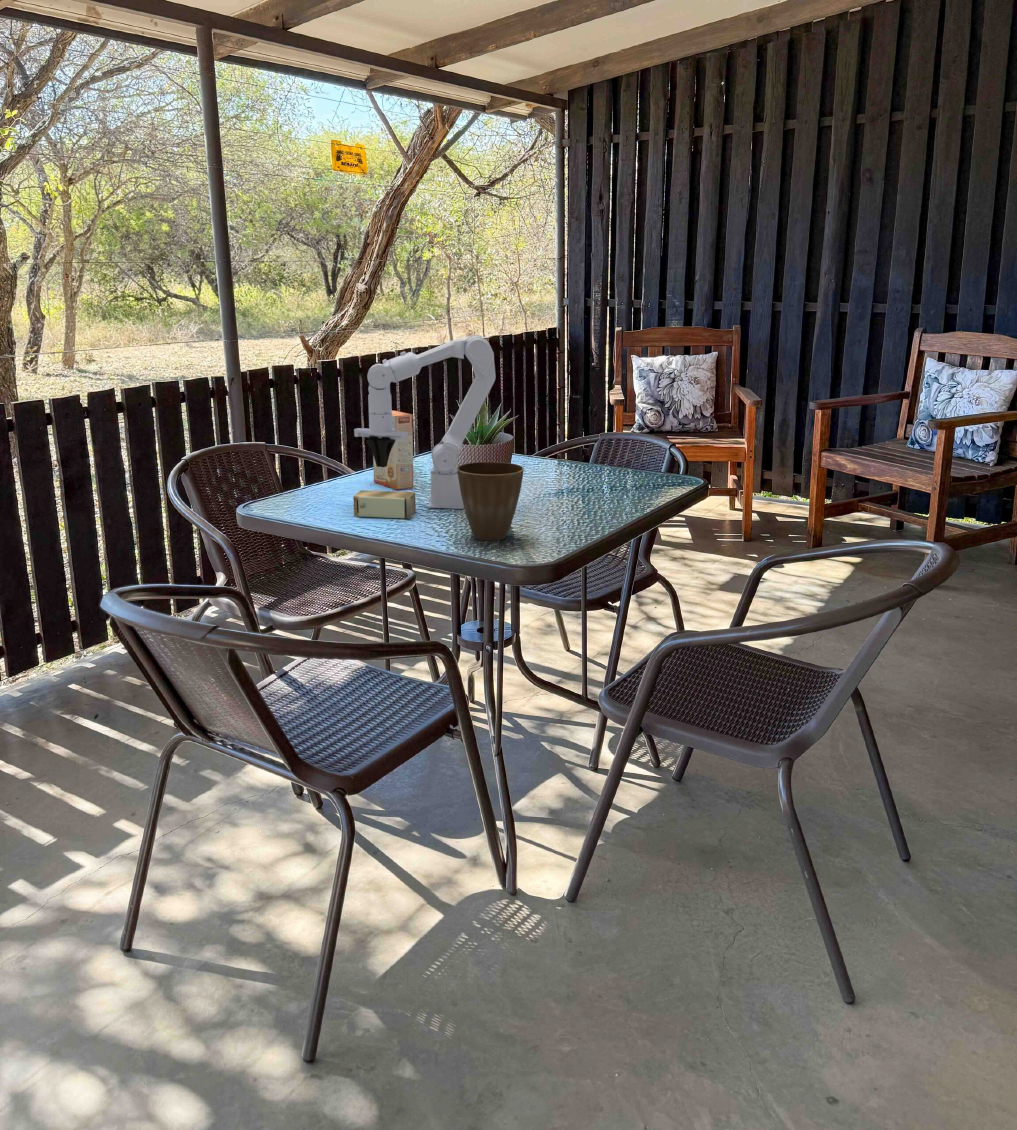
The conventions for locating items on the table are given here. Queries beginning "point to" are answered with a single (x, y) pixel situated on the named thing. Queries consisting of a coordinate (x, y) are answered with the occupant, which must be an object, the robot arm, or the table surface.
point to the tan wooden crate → (388, 495)
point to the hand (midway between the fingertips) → (381, 466)
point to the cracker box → (398, 456)
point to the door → (384, 507)
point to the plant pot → (490, 497)
